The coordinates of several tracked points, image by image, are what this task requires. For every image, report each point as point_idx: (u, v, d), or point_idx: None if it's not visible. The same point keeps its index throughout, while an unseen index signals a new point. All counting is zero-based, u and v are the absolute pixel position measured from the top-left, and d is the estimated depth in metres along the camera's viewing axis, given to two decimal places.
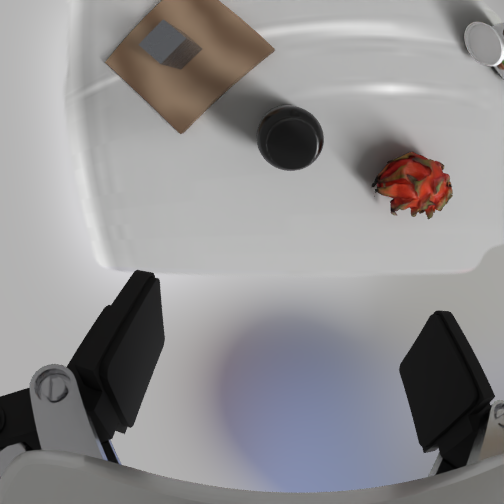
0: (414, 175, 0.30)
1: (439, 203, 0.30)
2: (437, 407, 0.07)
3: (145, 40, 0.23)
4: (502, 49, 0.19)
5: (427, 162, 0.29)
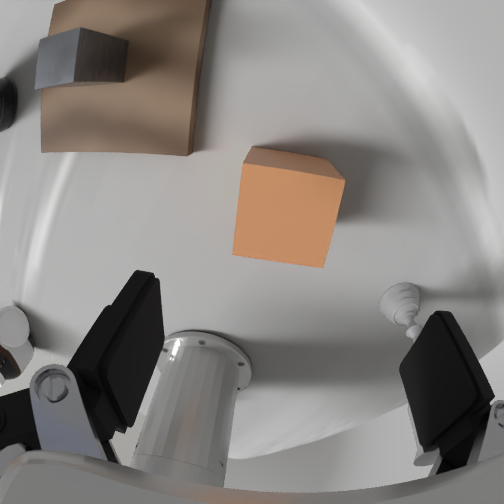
0: None
1: None
2: (437, 407, 0.07)
3: (74, 39, 0.12)
4: None
5: None
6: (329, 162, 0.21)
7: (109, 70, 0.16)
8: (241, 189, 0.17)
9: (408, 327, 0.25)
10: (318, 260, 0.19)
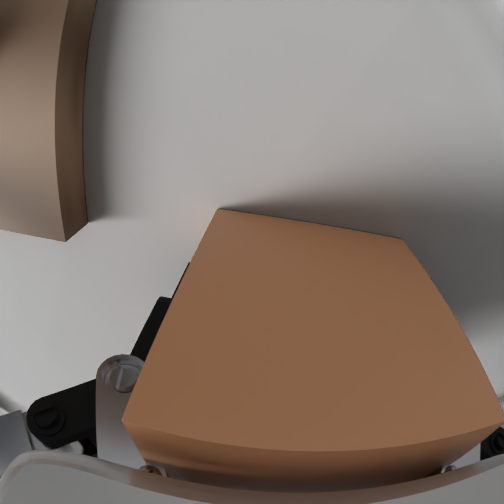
0: None
1: None
2: None
3: None
4: None
5: None
6: (418, 262, 0.08)
7: None
8: (149, 461, 0.04)
9: None
10: None
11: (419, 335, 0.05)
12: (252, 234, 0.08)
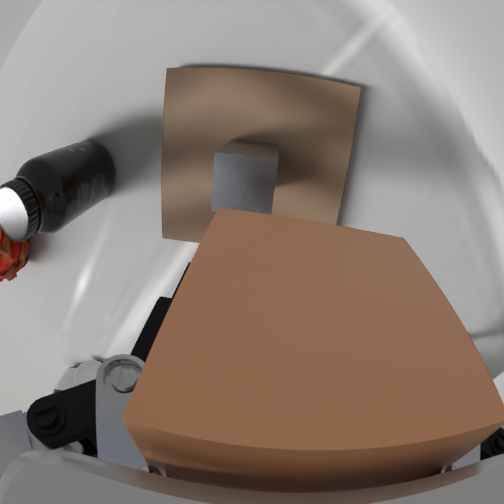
0: (0, 259, 0.25)
1: None
2: None
3: (271, 172, 0.17)
4: None
5: (8, 275, 0.27)
6: (420, 261, 0.08)
7: None
8: (150, 461, 0.04)
9: None
10: None
11: (422, 333, 0.05)
12: (253, 232, 0.08)
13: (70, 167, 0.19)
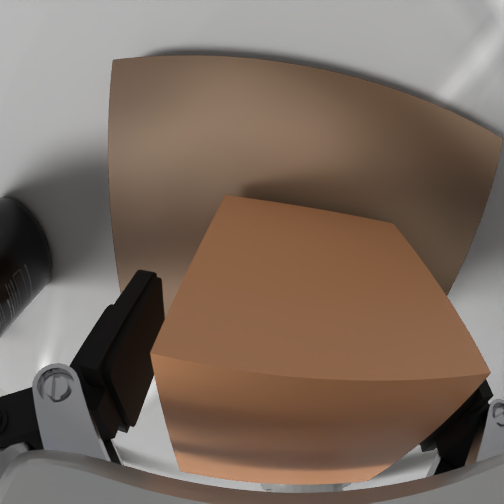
0: None
1: None
2: None
3: None
4: None
5: None
6: (407, 242, 0.09)
7: None
8: (167, 408, 0.05)
9: None
10: (362, 477, 0.07)
11: (405, 297, 0.06)
12: (257, 215, 0.09)
13: None
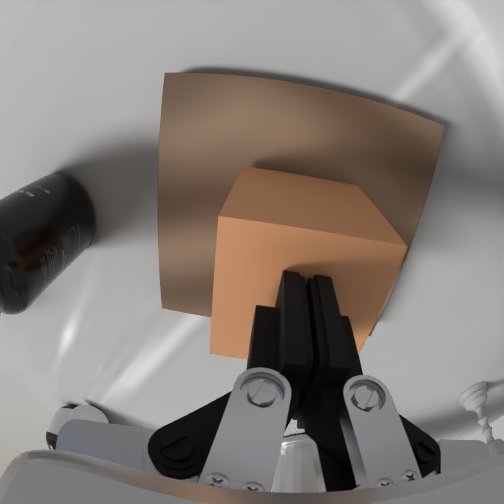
0: None
1: None
2: None
3: None
4: None
5: None
6: (364, 194, 0.13)
7: None
8: (218, 262, 0.10)
9: (479, 417, 0.24)
10: None
11: (353, 212, 0.11)
12: (265, 175, 0.14)
13: (27, 228, 0.13)
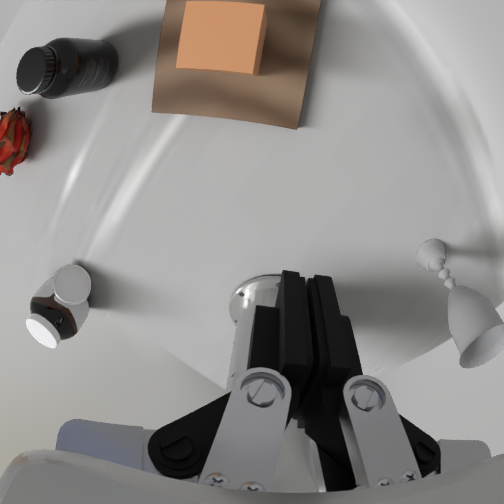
0: (2, 147, 0.26)
1: None
2: None
3: None
4: (57, 296, 0.38)
5: (6, 164, 0.27)
6: (266, 19, 0.21)
7: None
8: (184, 17, 0.17)
9: (439, 271, 0.33)
10: (247, 67, 0.19)
11: None
12: None
13: (84, 45, 0.20)
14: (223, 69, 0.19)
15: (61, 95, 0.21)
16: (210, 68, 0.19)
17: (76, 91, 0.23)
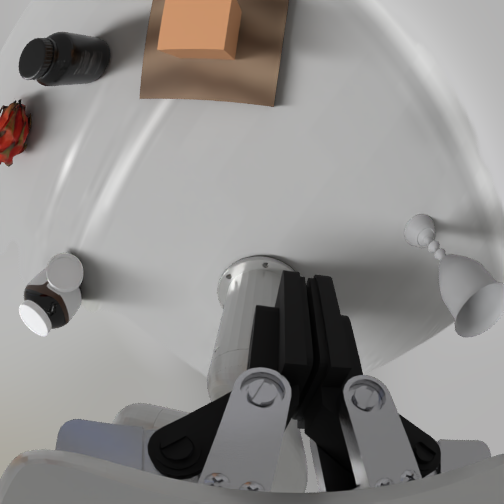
0: (3, 136, 0.27)
1: None
2: None
3: None
4: (50, 283, 0.39)
5: (6, 152, 0.29)
6: None
7: None
8: (164, 7, 0.18)
9: (429, 244, 0.33)
10: (219, 44, 0.20)
11: None
12: None
13: (80, 38, 0.21)
14: (198, 48, 0.20)
15: (58, 82, 0.22)
16: (187, 48, 0.20)
17: (71, 80, 0.24)
